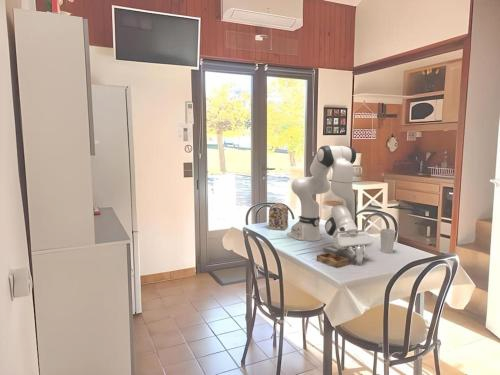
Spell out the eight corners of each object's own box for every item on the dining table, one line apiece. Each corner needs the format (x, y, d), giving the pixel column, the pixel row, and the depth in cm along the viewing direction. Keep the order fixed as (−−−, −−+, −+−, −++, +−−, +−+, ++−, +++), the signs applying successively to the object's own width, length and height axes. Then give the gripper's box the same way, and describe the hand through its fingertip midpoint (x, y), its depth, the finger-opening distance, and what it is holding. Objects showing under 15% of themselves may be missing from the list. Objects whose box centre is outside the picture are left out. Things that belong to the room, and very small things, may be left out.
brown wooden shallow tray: (316, 260, 191) (316, 255, 191) (327, 257, 196) (327, 252, 196) (337, 267, 180) (337, 262, 180) (348, 264, 185) (348, 259, 185)
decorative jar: (284, 230, 254) (285, 204, 252) (268, 229, 258) (268, 203, 255) (288, 227, 265) (288, 202, 263) (272, 225, 269) (272, 201, 267)
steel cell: (352, 263, 187) (353, 244, 186) (357, 262, 189) (358, 243, 188) (359, 265, 184) (359, 246, 183) (364, 264, 186) (364, 245, 185)
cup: (376, 251, 208) (377, 230, 207) (383, 248, 214) (384, 228, 212) (390, 254, 203) (391, 232, 201) (396, 251, 208) (398, 230, 207)
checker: (323, 252, 205) (323, 247, 205) (331, 250, 210) (332, 245, 209) (336, 256, 198) (336, 250, 198) (344, 254, 203) (344, 248, 202)
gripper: (363, 232, 199) (373, 255, 191) (329, 235, 192) (339, 259, 184) (368, 226, 194) (379, 249, 186) (334, 229, 188) (344, 253, 180)
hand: (359, 254), depth 185 cm, fingers closed on steel cell, 4 cm apart
